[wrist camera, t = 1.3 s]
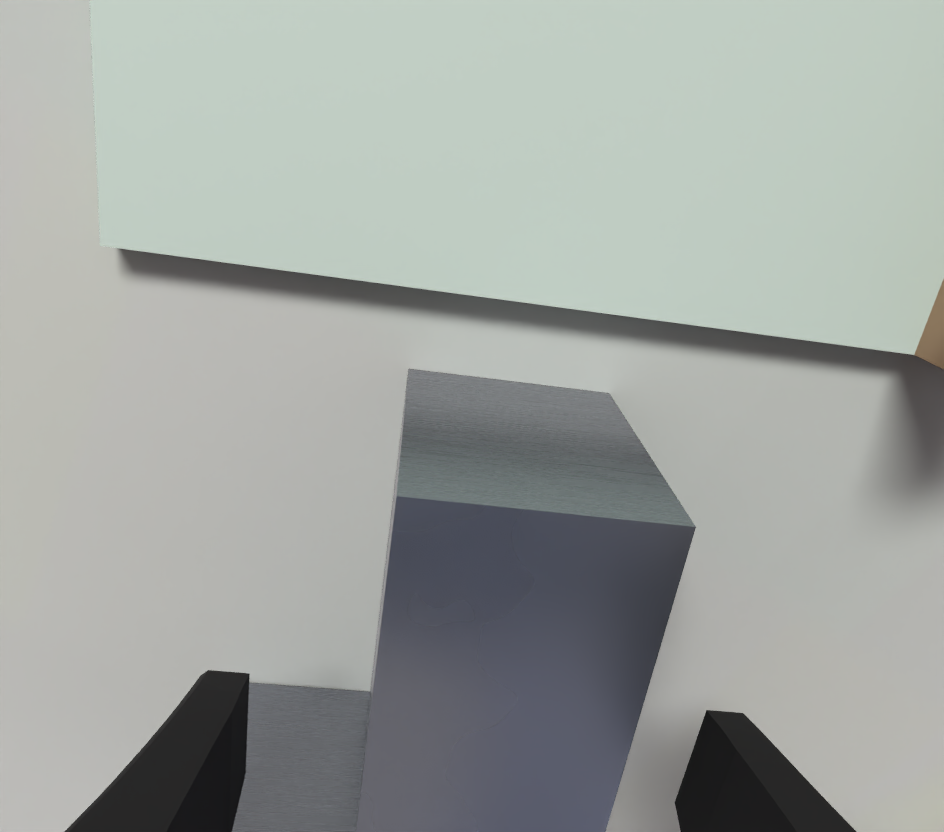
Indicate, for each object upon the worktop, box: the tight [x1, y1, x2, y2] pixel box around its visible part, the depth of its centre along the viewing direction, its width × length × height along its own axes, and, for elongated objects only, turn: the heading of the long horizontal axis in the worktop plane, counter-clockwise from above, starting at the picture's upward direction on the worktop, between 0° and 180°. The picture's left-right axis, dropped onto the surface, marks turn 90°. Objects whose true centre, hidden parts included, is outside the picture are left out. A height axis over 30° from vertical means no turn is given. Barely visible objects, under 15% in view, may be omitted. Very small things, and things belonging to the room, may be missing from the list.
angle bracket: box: [232, 369, 696, 832], centre depth 12 cm, size 10×6×4 cm, turn 172°
